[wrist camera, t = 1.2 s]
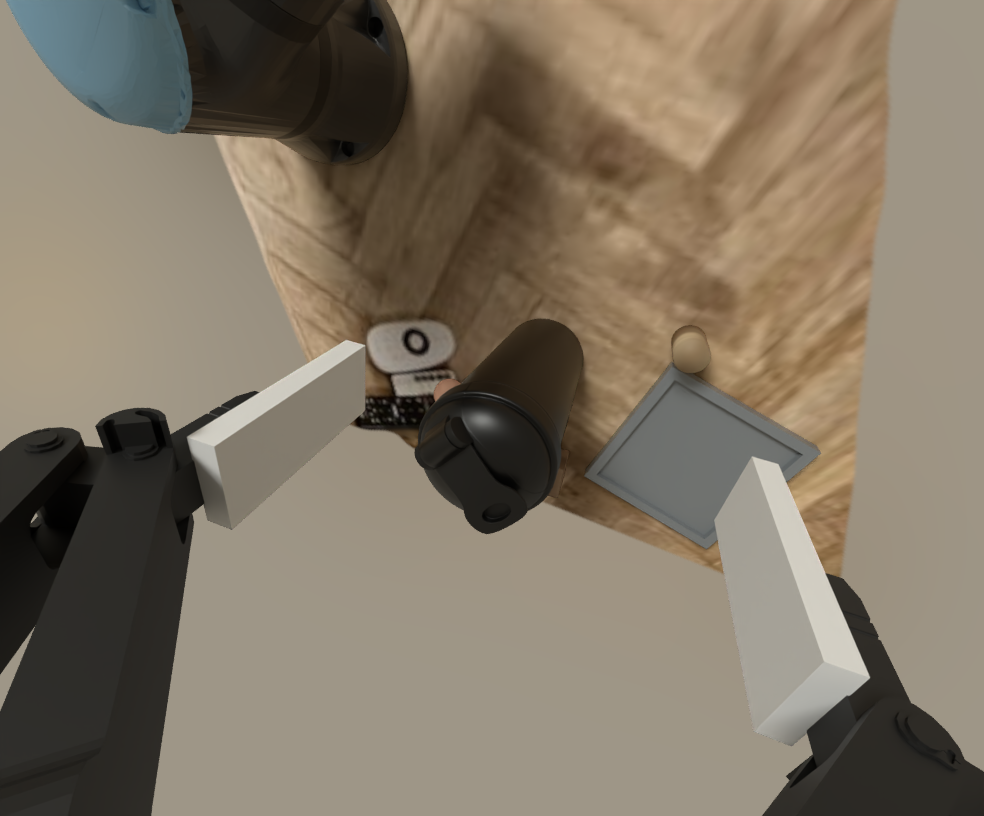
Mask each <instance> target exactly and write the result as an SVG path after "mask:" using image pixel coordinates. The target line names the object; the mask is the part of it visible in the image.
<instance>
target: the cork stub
mask: <svg viewBox="0 0 984 816" xmlns="http://www.w3.org/2000/svg"><path fill="white" fill-rule="evenodd" d="M671 343H672V353H673V361H674V364H675V366H676V367H677V368H678V369H679V370H681V371H682V372H685V373H696V372H699V371H701V370H703V369H704V368H705V367H706V366H707V365H708V364H709V362H710V359H711V352H710V349H709V345H708V342H707V339H706V336H705V333H704V332H703V330H701V329H700V328H699V327H697V326H692V325H688V326H683V327H681V328H679V329H678V330H677V331H676V332H675V333H674V334H673V336H672V340H671Z"/></svg>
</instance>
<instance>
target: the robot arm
mask: <svg viewBox="0 0 984 816" xmlns="http://www.w3.org/2000/svg"><path fill="white" fill-rule="evenodd" d="M6 1H7V3H8V5H9V7H10V9H11V11H12V14H13V15H14V17H15V19H16V21H17V23H18V25H19V26H20V28H21V30H22V31H23V33H24V35H25V37H26V38H27V40H28V41H29V43H30V44H31V46H32V47H33V49H34V50H35V51H36V53H37V54H38V56H39V57H40V59H41V60H42V61H43V63H44V64H45V65H46V66H47V68H48V69H49V70H50V71H51V73H52V74H53V75H54V76H55V77H56V79H57V80H58V81H59V82H60V83H61V84H62V85H63V86H64V87H65V88H66V89H67V90H68V91H69V92H70V93H72V95H73V96H75V97H76V98H77V99H78V100H79V101H81V102H82V103H83V104H84V105H86V106H87V107H89V108H90V109H92V110H93V111H95V112H97V113H99V114H100V115H102V116H104V117H106V118H109V119H111V120H113V121H116V122H119V123H123V124H128V125H135V126H141V127H148V128H153V129H155V130H158V131H160V132H162V133H166V134H176V133H177V132H180V133H196V134H212V135H228V136H243V137H259V138H272V139H276V140H277V141H279V142H281V143H282V144H284V145H286V146H287V147H289V148H291V149H292V150H294V151H296V152H298V153H299V154H301V155H303V156H305V157H306V158H309V159H311V160H314V161H317V162H320V163H324V164H336V165H349V164H356V163H360V162H362V161H365V160H367V159H369V158H371V157H372V156H374V155H375V154H377V153H378V152H379V151H380V150H381V149H382V148H383V147H384V146H385V145H386V144H387V142H388V141H389V140H390V138H391V137H392V135H393V133H394V132H395V130H396V128H397V126H398V123H399V121H400V118H401V115H402V112H403V108H404V104H405V99H406V92H407V60H406V53H405V47H404V42H403V39H402V35H401V32H400V28H399V25H398V23H397V20H396V18H395V16H394V13H393V11H392V9H391V7H390V6H389V4H388V2H387V0H6ZM365 351H366V345H362V344H359V343H355V342H352V341H348V340H345V341H344V342H342V343H340V344H339V345H337V346H335V347H334V348H332V349H331V350H329V351H327V352H326V353H324V354H322V355H321V356H319V357H317V358H316V359H314V360H312V361H311V362H309V363H307V364H306V365H304V366H303V367H301V368H299V369H298V370H296V371H294V372H293V373H291V374H289V375H288V376H286V377H285V378H283V379H281V380H279V381H278V382H276V383H275V384H273V385H271V386H270V387H268V388H266V389H265V390H263V391H261V392H257V391H253V392H249V393H246V394H243V395H239V396H236V397H234V398H233V399H231V400H229V401H228V402H226V403H224V404H222V406H221V407H217V408H215V409H214V410H212V411H210V413H209V414H205V415H203V416H202V417H200V418H198V419H197V420H195V421H193V422H191V423H190V424H188V425H186V426H185V427H183V428H181V429H179V430H178V431H176V432H174V433H173V434H171V435H170V431H169V428H168V424H167V420H166V417H165V415H164V414H163V413H162V412H161V411H159V410H155V409H151V408H133V409H127V410H122V411H119V412H116V413H113V414H111V415H109V416H107V417H105V418H103V419H102V420H101V421H100V422H99V423H98V424H97V425H96V426H95V427H96V429H97V432H98V435H99V437H100V440H101V442H102V445H103V448H101V447H100V448H99V447H89V446H85V445H84V443H83V440H82V438H81V435H80V433H79V432H78V431H76V430H74V429H70V428H63V427H60V428H46V429H42V430H36V431H33V432H31V433H28V434H26V435H23V436H21V437H19V438H17V439H16V440H14V441H13V442H11V443H10V444H8V445H7V446H6V447H5V448H4V449H3V450H1V451H0V674H1V673H2V671H3V670H4V668H5V667H6V666H7V664H8V663H9V661H10V660H11V659H12V657H13V656H14V655H15V653H16V652H17V650H18V649H19V648H20V646H21V645H22V643H23V642H24V641H25V639H26V638H27V636H28V635H29V633H30V632H31V631H32V629H33V628H34V627H35V628H34V631H33V633H32V636H31V638H30V641H29V643H28V645H27V648H26V650H25V653H24V655H23V658H22V660H21V662H20V665H19V667H18V670H17V672H16V674H15V677H14V679H13V682H12V684H11V687H10V689H9V691H8V694H7V696H6V699H5V701H4V704H3V706H2V709H1V711H0V816H151V812H152V804H153V797H154V791H155V784H156V777H157V770H158V763H159V756H160V749H161V743H162V736H163V729H164V722H165V716H166V709H167V702H168V695H169V689H170V682H171V675H172V669H173V668H172V667H173V662H174V655H175V648H176V641H177V635H178V628H179V621H180V614H181V607H182V601H183V593H184V587H185V579H186V573H187V567H188V560H189V553H190V546H191V539H192V532H193V526H194V520H193V515H192V513H193V512H194V511H195V510H197V509H198V508H199V507H200V506H202V505H203V504H204V508H205V512H206V516H207V520H208V521H210V522H213V523H216V524H218V525H221V526H223V527H226V528H229V529H231V530H232V529H233V528H235V527H236V526H237V525H238V524H239V523H240V522H241V521H242V520H243V519H245V518H246V517H247V516H248V515H249V514H250V513H251V512H252V511H253V510H255V509H256V508H257V507H258V506H259V505H260V504H261V503H262V502H263V501H265V500H266V499H267V498H268V497H269V496H270V495H271V494H272V493H273V492H275V491H276V490H277V489H278V488H279V487H280V486H281V485H282V484H283V483H284V482H286V481H287V480H288V479H289V478H290V477H291V476H292V475H293V474H295V473H296V472H297V471H298V470H299V469H300V468H301V467H302V466H304V465H305V464H306V463H307V462H308V461H309V460H310V459H311V458H312V457H314V456H315V455H316V454H317V453H318V452H319V451H320V450H321V449H323V448H324V447H325V446H326V445H327V444H328V443H329V442H330V441H331V440H333V439H334V438H335V437H336V436H337V435H338V434H339V433H340V432H341V431H342V430H344V429H345V428H346V427H347V426H348V425H349V424H350V423H352V422H353V421H354V420H355V419H356V418H357V417H358V416H359V415H360V414H362V413H363V412H364V411H365ZM35 513H37V515H38V517H37V518H36V519H35V520H34V521H33V522H32V523H31V520H32V518H33V517H34V515H35ZM714 522H715V527H716V533H717V538H718V544H719V549H720V554H721V560H722V565H723V570H724V576H725V581H726V586H727V592H728V597H729V602H730V608H731V613H732V619H733V624H734V629H735V634H736V640H737V645H738V651H739V656H740V661H741V667H742V672H743V678H744V683H745V688H746V693H747V698H748V704H749V709H750V715H751V721H752V725H753V731H754V732H756V733H758V734H761V735H763V736H766V737H769V738H771V739H774V740H777V741H779V742H782V743H784V744H787V745H790V746H793V745H794V744H795V743H796V742H797V741H798V740H799V739H801V738H802V737H803V736H804V735H805V734H806V733H807V734H808V738H809V741H810V745H811V749H812V752H813V755H812V756H810V757H809V758H808V759H807V760H805V761H804V762H803V763H802V764H800V765H799V766H798V767H797V768H795V769H794V770H793V771H792V772H791V773H789V774H788V775H787V776H786V777H787V778H788V779H789V780H790V781H789V782H788V783H787V784H786V786H785V787H784V788H783V790H782V791H781V792H780V793H779V795H778V796H777V797H776V799H775V800H774V801H773V802H772V804H771V805H770V806H769V808H768V809H767V810H766V811H765V813H764V814H763V815H762V816H984V772H983V771H982V770H980V769H979V768H977V767H975V766H974V765H972V764H970V763H969V762H967V761H966V760H965V759H964V757H963V755H962V752H961V750H960V748H959V747H958V745H957V744H956V743H955V741H954V740H953V739H952V737H951V736H950V735H949V733H948V732H947V731H946V730H945V729H944V728H943V727H942V726H941V725H940V724H939V723H938V722H937V721H936V720H935V719H934V718H932V716H930V715H929V714H927V713H926V712H924V711H923V710H921V709H920V708H919V707H917V706H916V705H914V704H912V703H911V702H910V700H909V698H908V696H907V694H906V692H905V690H904V687H903V685H902V683H901V681H900V680H899V677H898V675H897V673H896V671H895V669H894V667H893V665H892V663H891V661H890V659H889V657H888V655H887V652H886V650H885V648H884V646H883V644H882V642H881V641H880V640H878V637H879V636H878V634H877V632H876V630H875V628H874V626H873V624H872V623H870V617H869V615H868V613H867V611H866V609H865V607H864V605H863V603H862V601H861V599H860V598H859V597H858V595H857V594H856V593H855V592H854V591H853V590H852V589H851V588H850V586H849V585H848V584H847V583H846V582H845V581H844V579H842V578H839V577H836V576H833V575H830V574H827V573H825V572H824V569H823V567H822V565H821V562H820V560H819V558H818V555H817V553H816V551H815V548H814V546H813V544H812V541H811V539H810V537H809V534H808V532H807V530H806V527H805V525H804V523H803V520H802V518H801V516H800V513H799V511H798V509H797V506H796V504H795V502H794V499H793V497H792V495H791V492H790V490H789V488H788V485H787V483H786V481H785V478H784V476H783V474H782V472H781V469H780V467H779V465H778V464H776V463H773V462H769V461H766V460H763V459H759V458H756V457H751V459H750V460H749V462H748V464H747V465H746V467H745V469H744V471H743V472H742V474H741V476H740V477H739V479H738V481H737V482H736V484H735V486H734V488H733V489H732V491H731V493H730V494H729V496H728V498H727V499H726V501H725V503H724V504H723V506H722V508H721V510H720V511H719V513H718V515H717V516H716V518H715V520H714ZM35 625H36V626H35Z"/></svg>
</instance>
